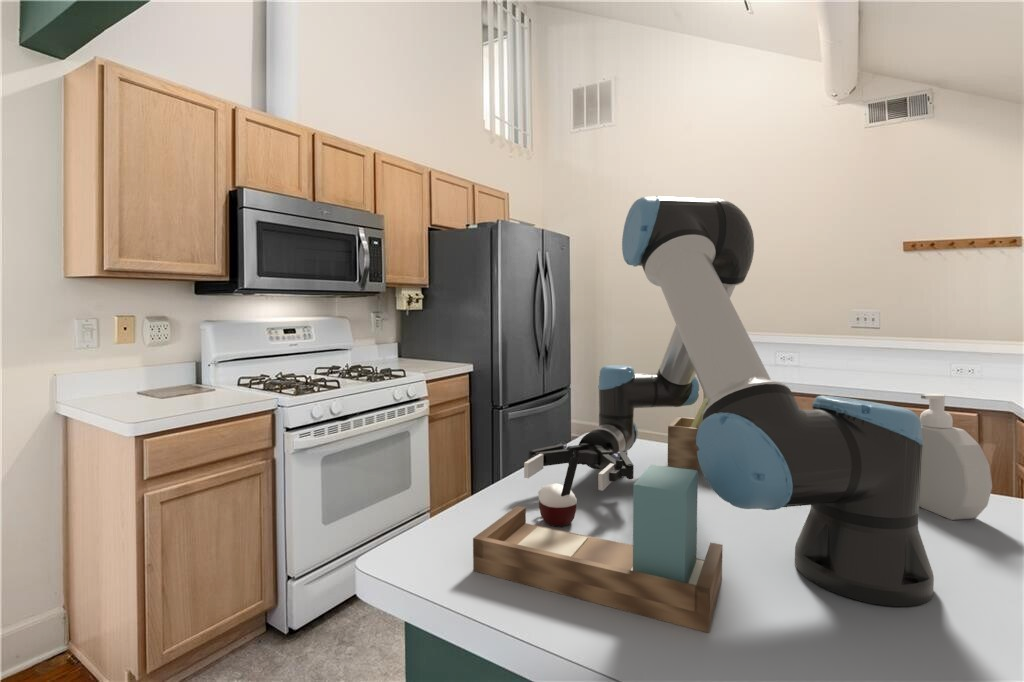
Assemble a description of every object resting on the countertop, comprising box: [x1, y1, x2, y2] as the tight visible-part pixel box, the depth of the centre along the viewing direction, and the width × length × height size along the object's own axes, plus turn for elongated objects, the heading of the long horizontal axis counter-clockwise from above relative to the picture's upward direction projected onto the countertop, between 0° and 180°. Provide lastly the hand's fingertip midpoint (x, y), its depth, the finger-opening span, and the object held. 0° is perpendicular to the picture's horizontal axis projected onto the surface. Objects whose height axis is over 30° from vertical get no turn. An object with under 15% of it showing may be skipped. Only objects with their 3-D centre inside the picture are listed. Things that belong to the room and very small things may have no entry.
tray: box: [472, 505, 723, 634], centre depth 70 cm, size 30×13×4 cm, turn 62°
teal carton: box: [632, 464, 699, 583], centre depth 66 cm, size 6×9×12 cm
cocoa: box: [537, 457, 579, 527], centre depth 87 cm, size 10×6×12 cm, turn 7°
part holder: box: [667, 416, 702, 471], centre depth 116 cm, size 26×11×9 cm, turn 62°
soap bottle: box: [919, 393, 993, 521], centre depth 92 cm, size 16×5×20 cm, turn 8°
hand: (561, 476), depth 89 cm, fingers open, 13 cm apart
